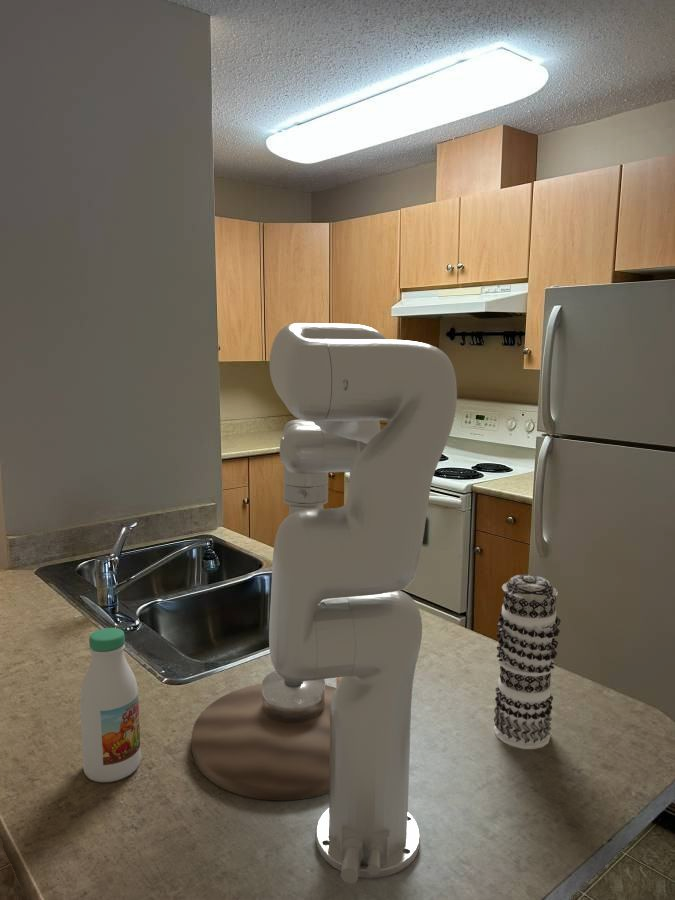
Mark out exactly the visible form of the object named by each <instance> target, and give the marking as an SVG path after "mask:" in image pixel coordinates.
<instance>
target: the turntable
mask: <svg viewBox="0 0 675 900" xmlns="http://www.w3.org/2000/svg"><path fill="white" fill-rule="evenodd" d="M341 678H342V677H338V678H336V682H335V683H336V684H335V685H336V687H337V686H338V684H339V682H340V680H341ZM336 687H335V686H332V685H327V684H325V708H324V710H323V712H322V713H321V714H320V715H319V716H318V717H316V718H314V719H312V720H309V721H305V722H300V723H285V722H279V721H276V720H273V719H271V718H269V717H268V716H267V715H266V714H265V713H264V712H263V709H262V682H261V683H257V684H253V685H249V686H245V687H243V688H239V689H236V690H234V691H231V692H229V693H227V694H224V695H223V696H220V697H219V698H218V699H216V700H215V701H213V702H211V704H209V705H208V706H207V707H205V709H204V710H203V711H201V713H200V714H199V716H198V717H197V718H196V720H195V722H194V724H193V727H192V731H191V753H192V757H193V760H194V763H195V766H196V767H197V768H198V770H199V771H200V772H201V774H202V775H203V776H204V778H206V779H207V780H209V781H210V782H211V783H213V784H214V785H216V786H217V787H220V788H222V789H224V790H226V791H227V792H229V793H233V794H236V795H239V796H243V797H248V798H251V799H257V800H263V801H264V800H266V801H293V800H302V799H309V798H313V797H318V796H321V795H325V794H328V793H329V779H330V708H331V702H332V698H333V695H334V692H335V690H336Z"/></svg>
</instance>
